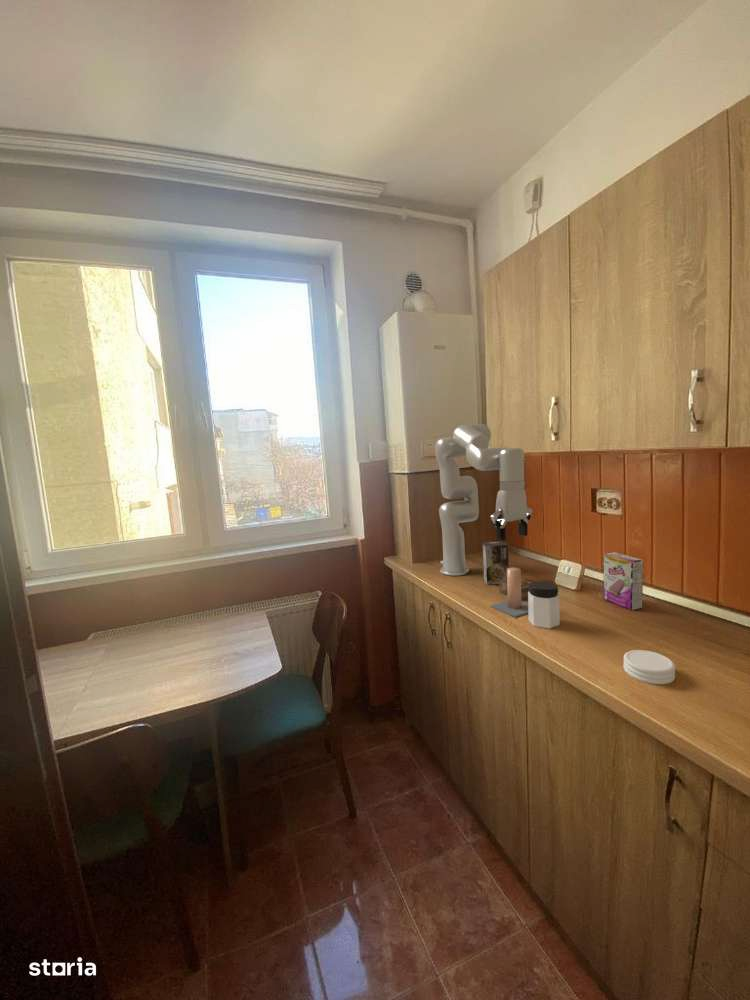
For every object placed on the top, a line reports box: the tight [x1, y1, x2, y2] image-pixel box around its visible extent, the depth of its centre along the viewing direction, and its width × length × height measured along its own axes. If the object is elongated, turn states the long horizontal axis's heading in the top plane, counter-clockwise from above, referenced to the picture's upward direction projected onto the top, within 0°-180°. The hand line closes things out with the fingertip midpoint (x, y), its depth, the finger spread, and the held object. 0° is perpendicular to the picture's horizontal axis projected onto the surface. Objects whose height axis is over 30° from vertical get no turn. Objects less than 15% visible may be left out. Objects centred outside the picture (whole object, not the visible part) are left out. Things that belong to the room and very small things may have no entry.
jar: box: [527, 580, 561, 630], centre depth 123 cm, size 9×8×12 cm
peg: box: [507, 566, 523, 609], centre depth 135 cm, size 4×4×13 cm
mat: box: [490, 599, 528, 618], centre depth 136 cm, size 11×11×1 cm
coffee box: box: [482, 540, 510, 585], centre depth 163 cm, size 9×6×16 cm
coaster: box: [623, 649, 676, 685], centre depth 94 cm, size 10×10×4 cm
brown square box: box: [499, 578, 533, 601], centre depth 149 cm, size 9×9×4 cm
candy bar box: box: [602, 551, 644, 611], centre depth 133 cm, size 11×5×16 cm, turn 18°
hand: (512, 537), depth 134 cm, fingers open, 9 cm apart
